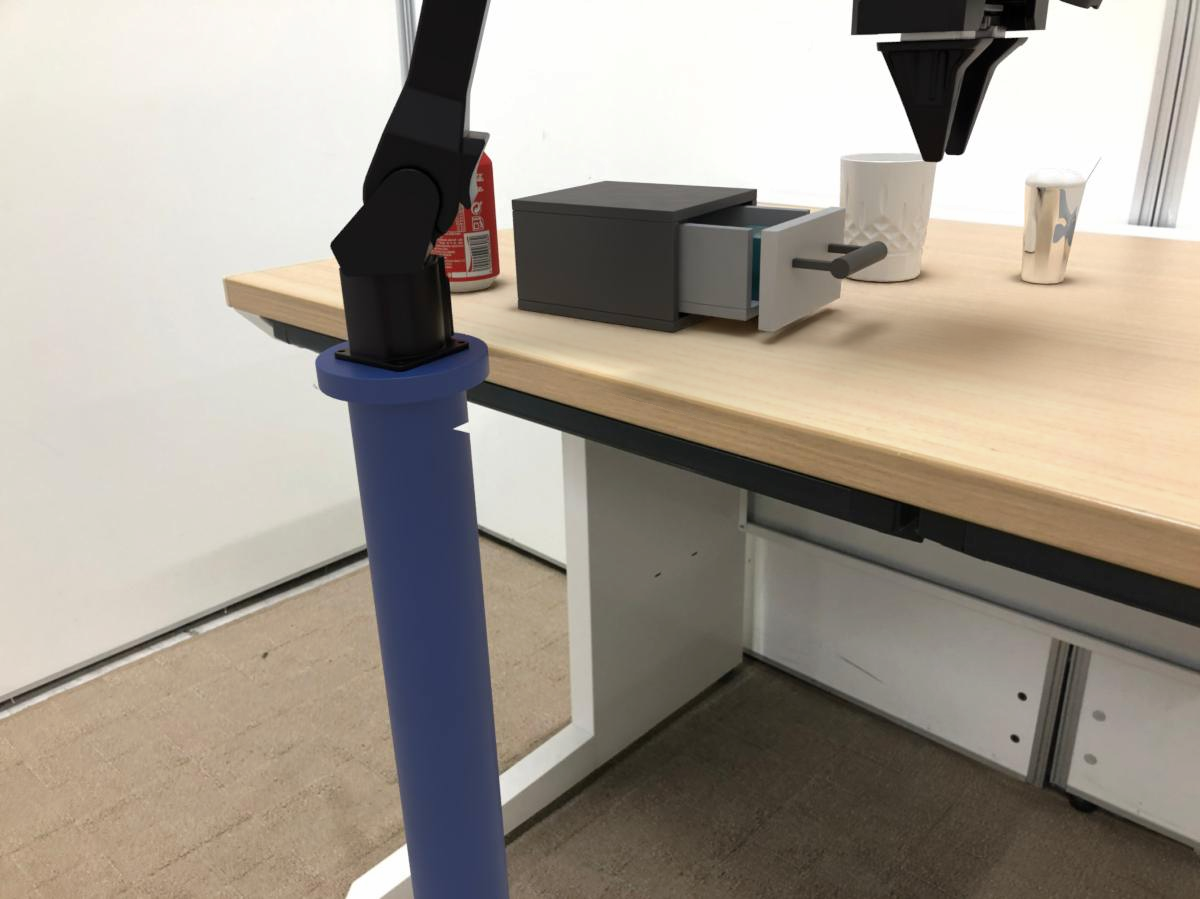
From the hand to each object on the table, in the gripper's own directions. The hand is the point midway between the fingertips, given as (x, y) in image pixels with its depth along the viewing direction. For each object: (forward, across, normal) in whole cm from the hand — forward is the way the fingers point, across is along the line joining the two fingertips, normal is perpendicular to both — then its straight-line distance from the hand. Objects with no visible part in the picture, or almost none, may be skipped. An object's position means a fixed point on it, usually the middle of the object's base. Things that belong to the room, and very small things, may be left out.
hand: (943, 158), depth 62 cm
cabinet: (+12, 0, +24) cm, 26 cm away
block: (+10, 0, +12) cm, 16 cm away
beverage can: (+12, -2, +40) cm, 42 cm away
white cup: (+12, +19, +10) cm, 25 cm away
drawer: (+11, 0, +13) cm, 17 cm away
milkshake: (+12, +23, -2) cm, 26 cm away
